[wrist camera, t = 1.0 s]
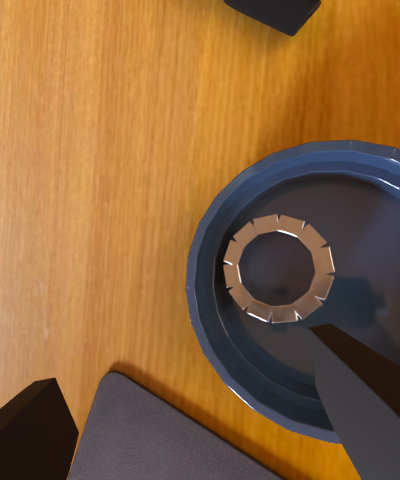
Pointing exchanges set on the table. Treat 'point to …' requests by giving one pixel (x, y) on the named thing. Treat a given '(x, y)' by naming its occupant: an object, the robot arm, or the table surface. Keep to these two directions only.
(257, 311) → the steel ring
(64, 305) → the table surface
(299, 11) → the electric trimmer
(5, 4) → the table surface
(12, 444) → the robot arm
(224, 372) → the bowl
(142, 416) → the mouse pad
